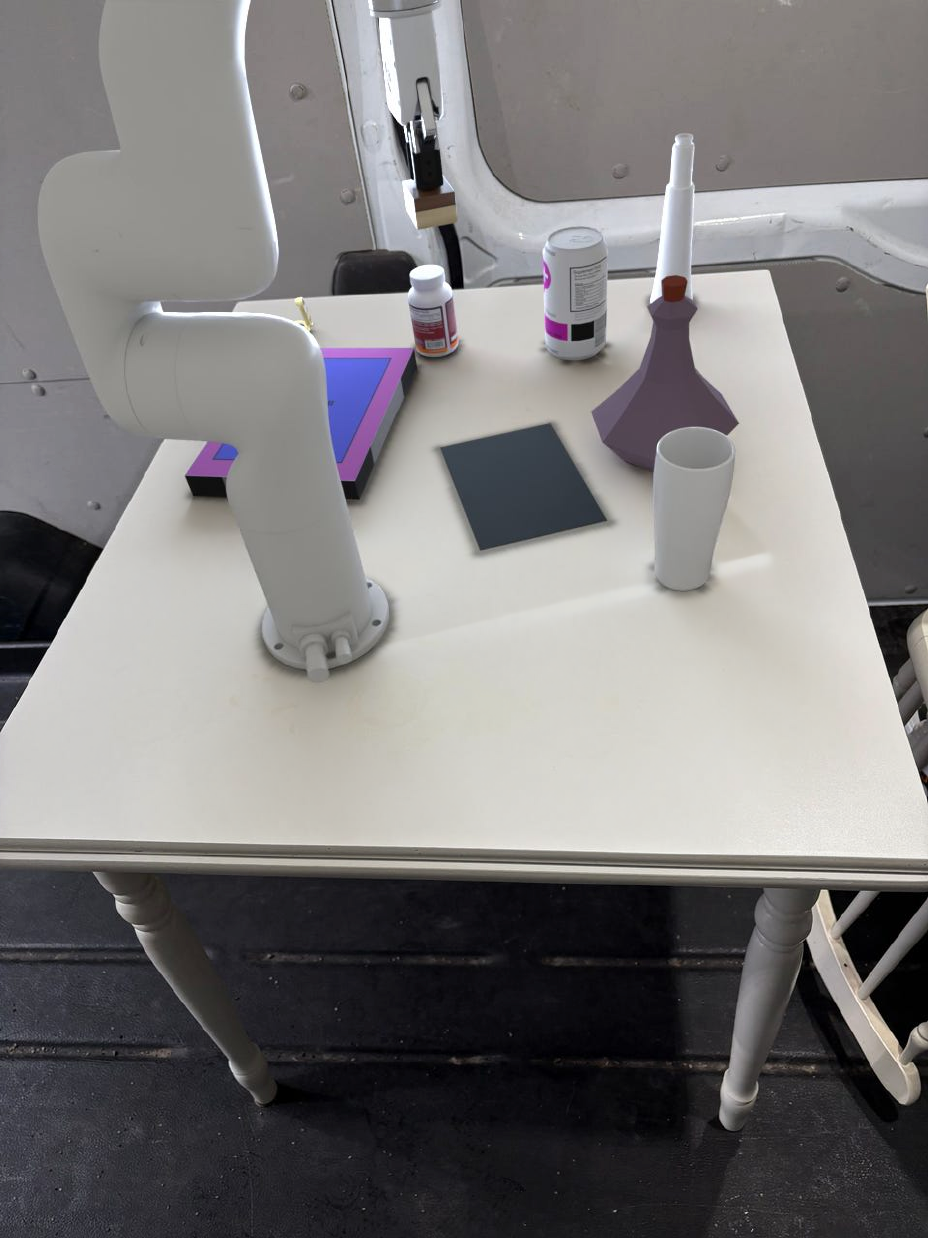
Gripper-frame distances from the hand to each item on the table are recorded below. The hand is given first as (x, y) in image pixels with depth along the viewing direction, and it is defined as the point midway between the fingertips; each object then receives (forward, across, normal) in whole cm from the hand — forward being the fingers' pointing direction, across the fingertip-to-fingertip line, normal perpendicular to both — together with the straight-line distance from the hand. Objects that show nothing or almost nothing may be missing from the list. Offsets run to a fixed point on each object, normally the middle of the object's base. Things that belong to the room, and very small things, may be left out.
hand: (426, 180), depth 99 cm
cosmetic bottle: (+24, -4, +34) cm, 42 cm away
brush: (+4, 0, 0) cm, 4 cm away
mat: (+24, +30, +1) cm, 38 cm away
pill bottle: (+24, -5, 0) cm, 24 cm away
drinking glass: (+24, +50, +12) cm, 57 cm away
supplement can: (+24, +3, +17) cm, 30 cm away
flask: (+24, +30, +19) cm, 43 cm away
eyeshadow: (+24, -19, -19) cm, 36 cm away
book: (+24, +9, -20) cm, 32 cm away
